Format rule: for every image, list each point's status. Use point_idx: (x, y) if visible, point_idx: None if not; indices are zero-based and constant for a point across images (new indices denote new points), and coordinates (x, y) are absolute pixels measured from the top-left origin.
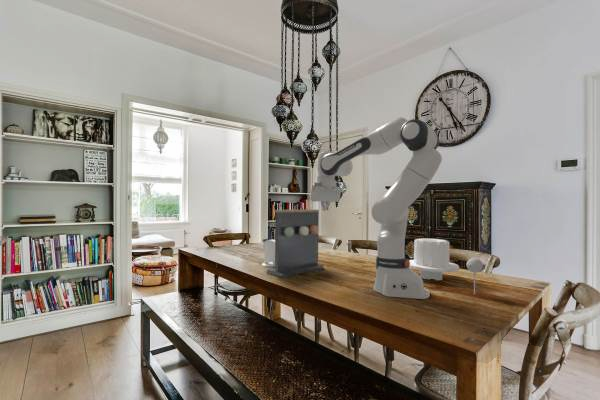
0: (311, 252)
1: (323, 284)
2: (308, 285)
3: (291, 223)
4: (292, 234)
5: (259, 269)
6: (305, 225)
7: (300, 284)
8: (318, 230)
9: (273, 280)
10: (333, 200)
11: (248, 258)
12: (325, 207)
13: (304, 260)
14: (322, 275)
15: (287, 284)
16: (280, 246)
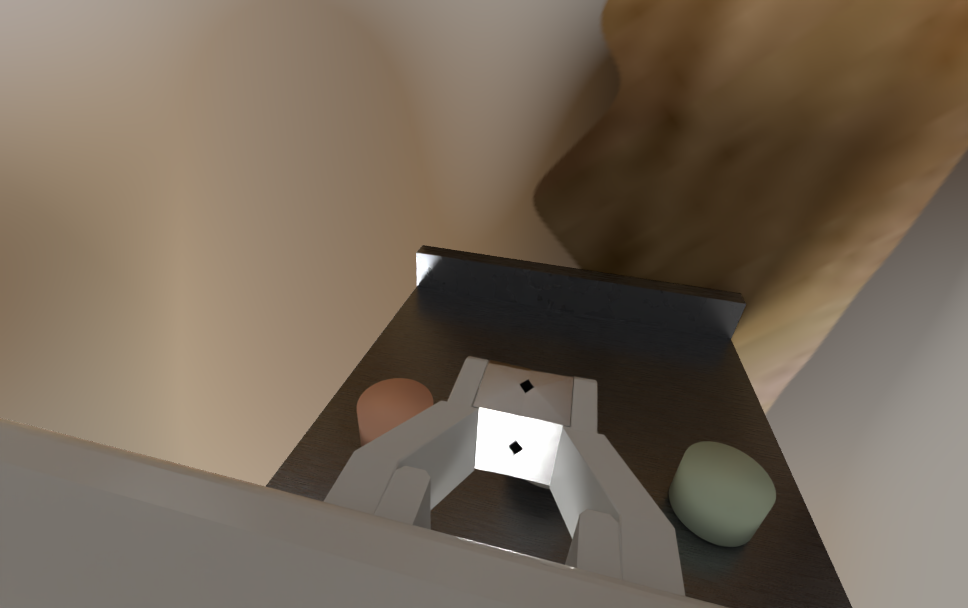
0: (451, 331)
1: (790, 16)
2: (859, 81)
3: None
4: (700, 451)
5: None
6: (464, 487)
7: (854, 136)
8: (367, 391)
9: (824, 298)
10: (156, 490)
11: None
12: (586, 422)
13: (520, 321)
14: (575, 157)
15: (885, 195)
16: (748, 433)
